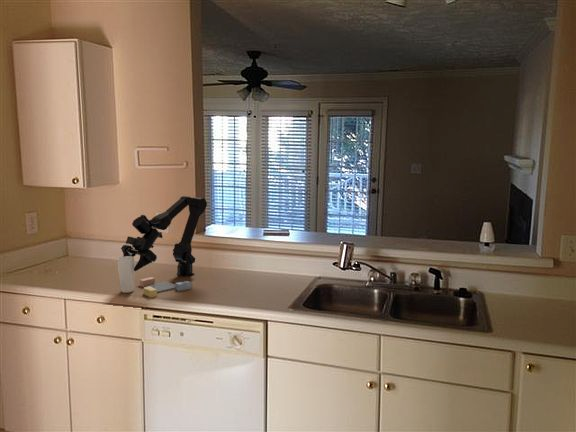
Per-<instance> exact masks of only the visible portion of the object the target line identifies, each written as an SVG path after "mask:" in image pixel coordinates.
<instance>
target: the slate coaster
mask: <svg viewBox="0 0 576 432" xmlns="http://www.w3.org/2000/svg"><path fill="white" fill-rule="evenodd" d="M149 286H150V287H152V288H154V289H157V294H159V293H162V292H168V291H171V290H176V284H175V283H172V282H170V281H167V280H165V281H162V282H155V284H151V285H147V286H145V287H149ZM145 287H144V288H145Z"/></svg>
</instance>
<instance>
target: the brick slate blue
mask: <svg viewBox="0 0 576 432" xmlns="http://www.w3.org/2000/svg"><path fill="white" fill-rule="evenodd" d="M174 284H175V285H176V289H175V290H176V291H178V292H179V291H186V290H190V289H192V282H191V281H189V280H184V281H180V282H179V281H178V282H175V283H174Z"/></svg>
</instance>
